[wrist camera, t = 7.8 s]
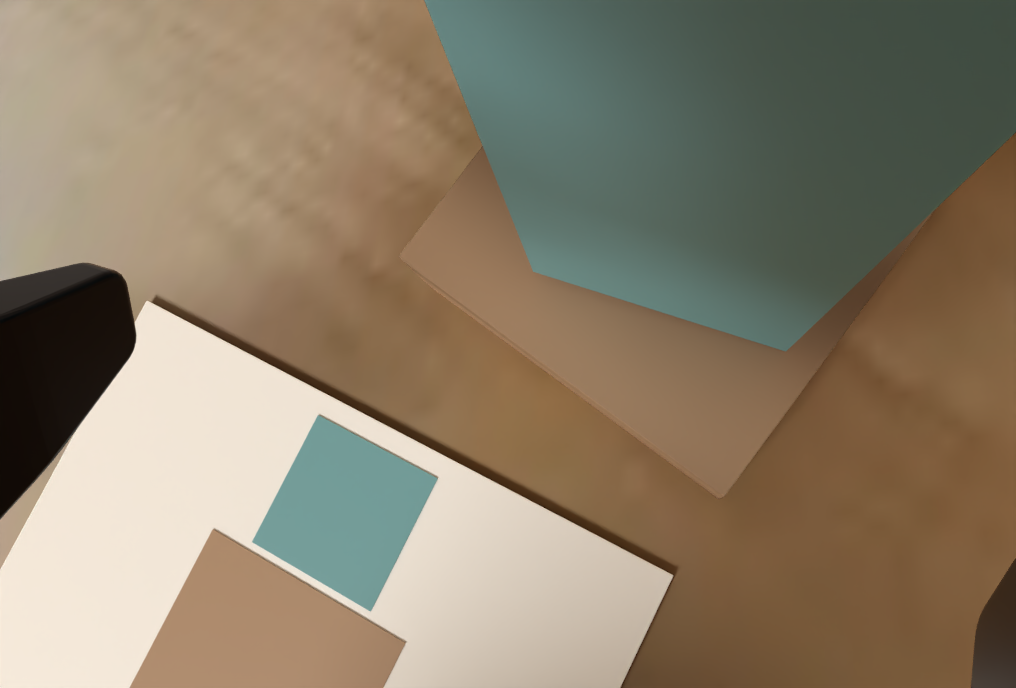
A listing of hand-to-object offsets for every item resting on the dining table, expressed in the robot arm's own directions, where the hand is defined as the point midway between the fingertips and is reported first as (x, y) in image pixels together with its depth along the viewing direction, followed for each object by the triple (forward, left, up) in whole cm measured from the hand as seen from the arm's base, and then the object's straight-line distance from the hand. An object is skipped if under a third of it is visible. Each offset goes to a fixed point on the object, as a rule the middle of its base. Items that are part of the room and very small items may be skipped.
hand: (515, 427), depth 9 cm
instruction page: (-7, +4, -11) cm, 13 cm away
